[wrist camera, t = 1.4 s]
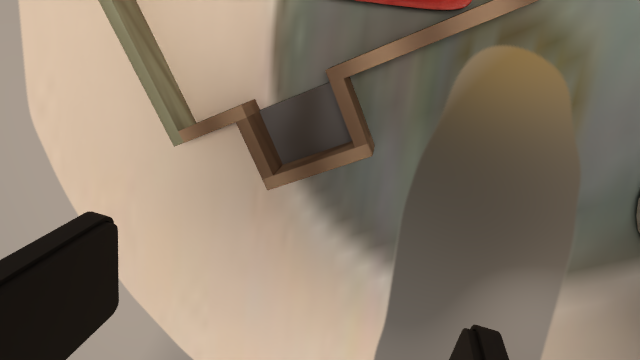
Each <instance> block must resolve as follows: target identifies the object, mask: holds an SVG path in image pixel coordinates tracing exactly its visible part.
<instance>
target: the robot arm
mask: <svg viewBox="0 0 640 360" xmlns="http://www.w3.org/2000/svg"><path fill="white" fill-rule="evenodd" d="M636 217H637V225H638V231H639V233H640V198H639V200H638V207H637V215H636ZM118 302H119V293H118V228H117V226H116V225H115V224H114V221H113V219H112V218H111V217H108V216H105V215H101V214H98V213H95V212H86V213H84V214H82V215H80V216H79V217H77V218H75V219H73V220H71V221H70V222H68V223H66V224H64V225H63V226H61V227H59V228H57V229H55V230H54V231H52V232H50V233H48V234H46V235H45V236H43V237H41V238H39V239H38V240H36V241H34V242H32V243H30V244H28V245H27V246H25V247H23V248H21V249H19V250H18V251H16V252H14V253H12V254H10V255H9V256H7V257H5V258H3V259H1V260H0V360H66V359H67V358H68V357H69V356H70V355H71V354H72V353H73V352H74V351H75V350H76V349H77V348H78V347H79V346H80V345H81V344H83V342H85V341H86V340H87V339H88V338H89V337H90V336H91V335H92V334H93V333H94V332H95V331H96V330H97V329H98V328H99V327H100V326H101V325H102V324H103V323H104V322H106V320H108V319H109V318H110V317H111V316H112V315H113V313H114V312H115V310H116V308H117V306H118ZM449 360H509V358H508V355H507V352H506V349H505V346H504V343H503V340H502V337H501V334H500V333H499V332H498V331H495V330H491V329H488V328H485V327H481V326H478V325H473V326H472V327H471V329H466V328H464V329H463V330H462V332H461V334H460V336H459V339H458V341H457V343H456V345H455V348H454V350H453V352H452V354H451V357H450V359H449Z"/></svg>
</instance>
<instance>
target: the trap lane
mask: <svg viewBox="0 0 640 360" xmlns="http://www.w3.org/2000/svg"><path fill="white" fill-rule="evenodd" d="M536 1H538V0H492V1H490V2H487V3H485V4H483V5H480V6H478V7H475V8H473V9H470V10H468V11H466V12H463V13H461V14H458V15H456V16H454V17H451V18H449V19H446V20H444V21H442V22H439V23H437V24H434V25H432V26H430V27H427V28H425V29H422V30H420V31H418V32H415V33H413V34H410V35H408V36H406V37H403V38H401V39H398V40H396V41H393V42H391V43H389V44H386V45H384V46H381V47H379V48H377V49H374V50H372V51H369V52H367V53H365V54H362V55H360V56H357V57H355V58H353V59H350V60H348V61H345V62H343V63H341V64H338V65H336V66H333V67H331V68H329V69H327V70H325V71H326V73H327V76H328V78H329V81H330V82H329V83H326V84H324V85H322V86H319V87H317V88H314V89H312V90H309V91H307V92H304V93H302V94H299V95H297V96H294V97H292V98H289V99H287V100H284V101H282V102H279V103H277V104H274V105H272V106H269V107H267V108H264V109H262V110H259V107H258V105H257V103H256V100H255V99H254V100H251V101H249V102H247V103H244V104H242V105H239V106H237V107H235V108H232V109H230V110H227V111H225V112H223V113H220V114H218V115H215V116H213V117H211V118H208V119H206V120H203V121H201V122H199V123H196V122H195V120H194V118H193V116H192V114H191V112H190V110H189V108H188V106H187V104H186V101H185V99H184V97H183V95H182V93H181V91H180V89H179V87H178V85H177V83H176V81H175V79H174V77H173V75H172V73H171V71H170V69H169V67H168V65H167V63H166V61H165V59H164V57H163V55H162V53H161V51H160V49H159V47H158V45H157V43H156V41H155V39H154V37H153V35H152V32H151V30H150V28H149V26H148V24H147V22H146V20H145V18H144V16H143V14H142V12H141V10H140V8H139V6H138V4H137V2H136V0H99V2H100V4H101V6H102V8H103V10H104V12H105V14H106V16H107V18H108V20H109V22H110V24H111V26H112V28H113V29H114V31H115V33H116V35H117V37H118V39H119V41H120V43H121V45H122V47H123V49H124V51H125V53H126V55H127V56H128V58H129V60H130V62H131V64H132V66H133V68H134V70H135V72H136V74H137V76H138V78H139V80H140V82H141V83H142V85H143V87H144V89H145V91H146V93H147V95H148V97H149V99H150V101H151V103H152V105H153V107H154V109H155V111H156V112H157V114H158V116H159V118H160V120H161V122H162V124H163V126H164V128H165V130H166V132H167V134H168V136H169V138H170V139H171V141H172V143H173V145H174V147H175V146H177V145H180V144H182V143H185V142H187V141H189V140H192V139H194V138H197V137H199V136H202V135H204V134H207V133H209V132H212V131H214V130H217V129H219V128H222V127H224V126H227V125H229V124H232V123H234V122H236V123H237V126H238V128H239V130H240V132H241V134H242V136H243V139H244V141H245V143H246V145H247V147H248V149H249V151H250V154H251V156H252V158H253V160H254V162H255V164H256V167H257V169H258V171H259V173H260V175H261V177H262V180H263V182H264V184H265V186H266V188H267V190H270V189H273V188H276V187H279V186H282V185H285V184H288V183H292V182H295V181H298V180H301V179H304V178H307V177H310V176H313V175H316V174H319V173H322V172H325V171H328V170H331V169H334V168H337V167H340V166H343V165H346V164H349V163H352V162H355V161H359V160H362V159H365V158H368V157H371V156H372V155H373V151H374V146H375V145H374V142H373V139H372V137H371V134H370V131H369V128H368V126H367V123H366V120H365V117H364V115H363V112H362V109H361V107H360V104H359V101H358V98H357V96H356V93H355V90H354V88H353V85H352V82H351V79H350V77H349V76H351V75H354V74H356V73H359V72H361V71H364V70H366V69H369V68H371V67H374V66H376V65H379V64H381V63H384V62H386V61H389V60H391V59H394V58H396V57H399V56H401V55H404V54H406V53H409V52H411V51H414V50H416V49H419V48H421V47H424V46H426V45H429V44H431V43H433V42H436V41H438V40H441V39H443V38H446V37H448V36H451V35H453V34H456V33H458V32H461V31H463V30H466V29H468V28H471V27H473V26H476V25H478V24H481V23H483V22H486V21H488V20H491V19H493V18H496V17H498V16H501V15H503V14H506V13H508V12H511V11H513V10H516V9H518V8H521V7H523V6H526V5H528V4H531V3H533V2H536Z"/></svg>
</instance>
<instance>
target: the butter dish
mask: <svg viewBox="0 0 640 360" xmlns="http://www.w3.org/2000/svg"><path fill="white" fill-rule="evenodd" d="M356 1H365V2H372V3H379V4H387V5H397V6H405V7H414V8H422V9H433V10H455V9H461V8H464V7H466V6H467V5H469V4H470V3H471V1H472V0H356Z"/></svg>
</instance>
